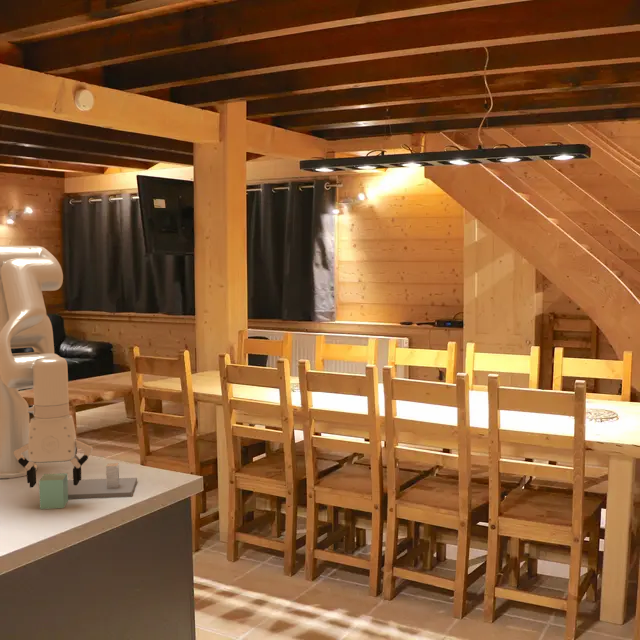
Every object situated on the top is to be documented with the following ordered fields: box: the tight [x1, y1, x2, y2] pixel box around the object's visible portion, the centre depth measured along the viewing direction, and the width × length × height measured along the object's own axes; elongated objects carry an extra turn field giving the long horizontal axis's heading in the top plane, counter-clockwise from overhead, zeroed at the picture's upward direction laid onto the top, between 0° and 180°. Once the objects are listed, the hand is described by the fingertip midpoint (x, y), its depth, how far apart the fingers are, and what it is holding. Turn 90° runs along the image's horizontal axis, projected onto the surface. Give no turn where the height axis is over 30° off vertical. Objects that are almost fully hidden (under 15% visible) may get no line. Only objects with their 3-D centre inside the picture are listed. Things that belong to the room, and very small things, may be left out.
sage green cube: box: [38, 472, 69, 510], centre depth 176 cm, size 5×5×7 cm
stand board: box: [68, 477, 138, 500], centre depth 187 cm, size 18×12×1 cm, turn 97°
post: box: [105, 462, 120, 489], centre depth 187 cm, size 3×3×6 cm
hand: (54, 484), depth 175 cm, fingers open, 9 cm apart
